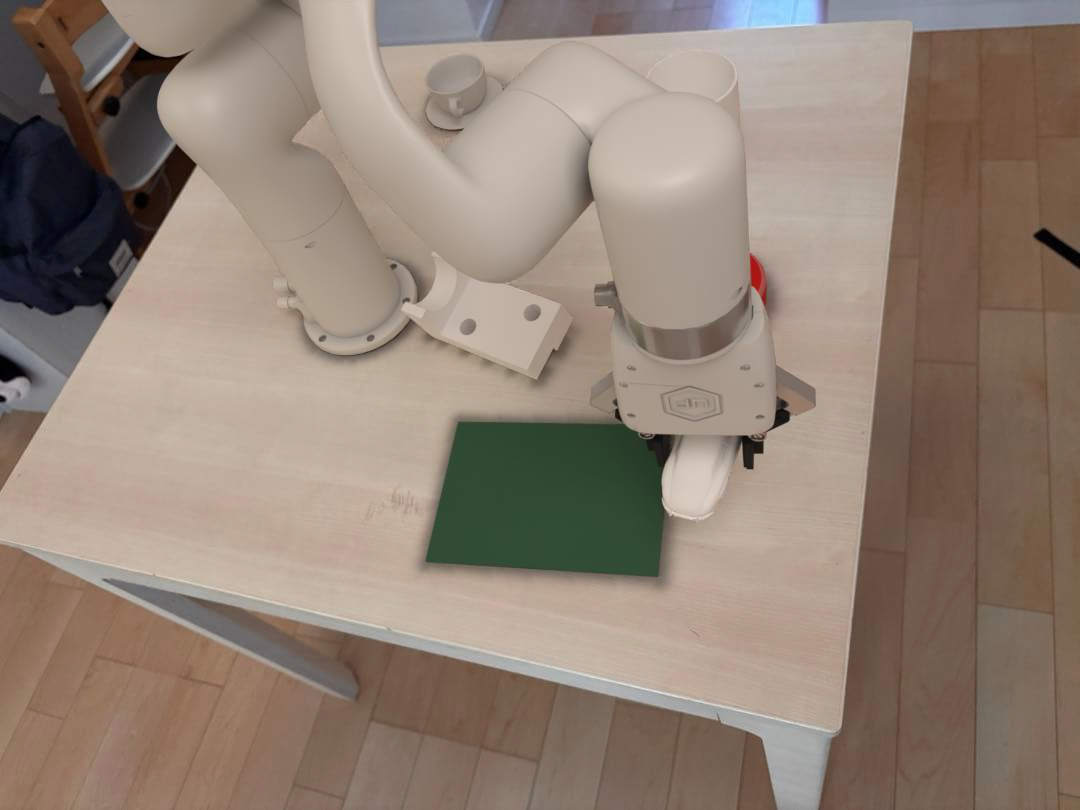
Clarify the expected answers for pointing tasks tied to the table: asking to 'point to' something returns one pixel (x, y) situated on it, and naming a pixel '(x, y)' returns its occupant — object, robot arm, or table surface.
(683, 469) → the toy car
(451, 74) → the teacup
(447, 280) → the bracket
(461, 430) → the cloth mat
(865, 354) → the table surface
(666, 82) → the mug
